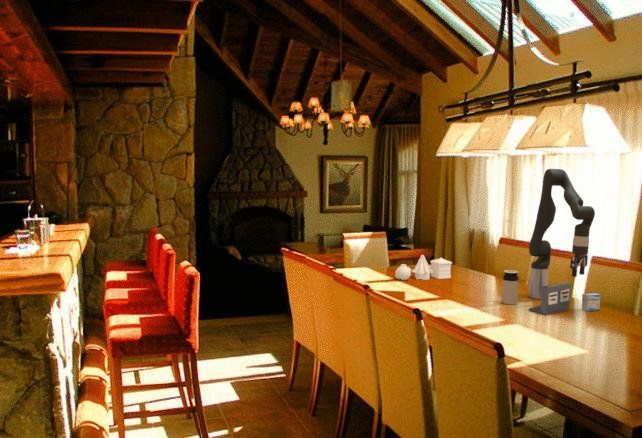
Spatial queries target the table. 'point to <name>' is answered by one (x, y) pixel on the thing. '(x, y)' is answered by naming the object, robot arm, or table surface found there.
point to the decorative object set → (426, 269)
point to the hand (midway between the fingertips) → (577, 275)
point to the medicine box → (591, 302)
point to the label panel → (553, 299)
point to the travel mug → (510, 287)
